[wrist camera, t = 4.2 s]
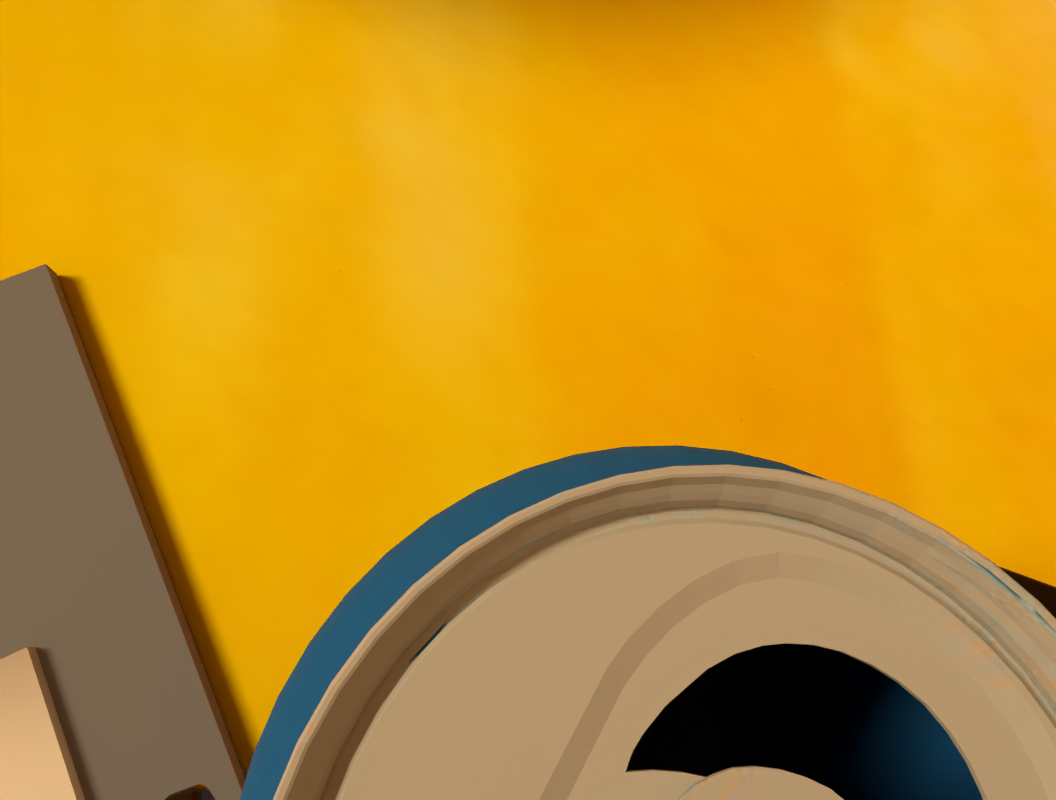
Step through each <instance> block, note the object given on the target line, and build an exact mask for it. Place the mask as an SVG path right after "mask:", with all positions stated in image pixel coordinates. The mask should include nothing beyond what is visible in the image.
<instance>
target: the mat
mask: <svg viewBox="0 0 1056 800" xmlns="http://www.w3.org/2000/svg"><path fill="white" fill-rule="evenodd" d="M245 780H246V778H245V775H244V772H243V769H242V767H241V764H240V761H239V759H238V756H237V753H236V751H235V748H234V745H233V743H232V740H231V737H230V735H229V732H228V729H227V727H226V724H225V721H224V719H223V716H222V713H221V711H220V708H219V705H218V703H217V700H216V697H215V695H214V692H213V689H212V687H211V684H210V681H209V679H208V676H207V673H206V671H205V668H204V665H203V663H202V660H201V657H200V655H199V652H198V649H197V647H196V644H195V641H194V639H193V636H192V633H191V631H190V628H189V625H188V623H187V620H186V617H185V615H184V612H183V609H182V607H181V604H180V601H179V599H178V596H177V593H176V591H175V588H174V585H173V583H172V580H171V577H170V575H169V572H168V569H167V567H166V564H165V561H164V559H163V556H162V553H161V551H160V548H159V545H158V543H157V540H156V537H155V535H154V532H153V529H152V527H151V524H150V521H149V519H148V516H147V513H146V511H145V508H144V505H143V503H142V500H141V497H140V495H139V492H138V489H137V487H136V484H135V481H134V479H133V476H132V473H131V471H130V468H129V465H128V463H127V460H126V457H125V455H124V452H123V449H122V446H121V444H120V441H119V438H118V436H117V433H116V430H115V428H114V425H113V422H112V420H111V417H110V414H109V412H108V409H107V406H106V404H105V401H104V398H103V396H102V393H101V390H100V388H99V385H98V382H97V380H96V377H95V374H94V372H93V369H92V366H91V364H90V361H89V358H88V356H87V353H86V350H85V348H84V345H83V342H82V340H81V337H80V334H79V332H78V329H77V326H76V324H75V321H74V318H73V316H72V313H71V310H70V308H69V305H68V302H67V300H66V297H65V294H64V292H63V289H62V286H61V284H60V281H59V278H58V276H57V274H56V273H55V272H54V271H53V270H52V269H51V268H50V267H48V266H47V265H46V264H44V265H42V266H39V267H36V268H34V269H31V270H28V271H26V272H23V273H20V274H18V275H15V276H12V277H10V278H7V279H4V280H2V281H0V800H165V799H166V798H167V797H168V796H169V795H171V794H173V793H175V792H178V791H180V790H183V789H186V788H189V787H191V786H194V785H197V784H203V785H205V786H207V787H208V788H209V790H210V791H211V793H212V794H213V796H214V798H215V799H216V800H240V796H241V793H242V790H243V786H244V783H245Z"/></svg>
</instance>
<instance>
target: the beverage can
mask: <svg viewBox="0 0 1056 800" xmlns="http://www.w3.org/2000/svg"><path fill="white" fill-rule="evenodd" d="M240 800H1056V618H1055V617H1054V616H1053V615H1052V614H1051V613H1050V612H1049V611H1048V610H1047V609H1046V608H1045V607H1044V606H1043V605H1042V604H1041V603H1040V602H1039V601H1038V600H1037V599H1036V598H1035V597H1033V596H1032V595H1031V594H1030V593H1029V592H1028V591H1026V590H1025V589H1024V588H1023V587H1022V586H1021V585H1019V584H1018V583H1017V582H1016V581H1015V580H1013V579H1012V578H1011V577H1010V576H1009V575H1008V574H1006V573H1005V572H1004V571H1003V570H1002V569H1001V568H999V567H998V566H997V565H996V564H995V563H993V562H992V561H991V560H989V559H988V558H986V557H985V556H983V555H982V554H980V553H979V552H977V551H976V550H974V549H973V548H971V547H970V546H968V545H967V544H965V543H964V542H962V541H961V540H959V539H958V538H956V537H955V536H953V535H952V534H950V533H949V532H947V531H946V530H944V529H943V528H941V527H939V526H937V525H935V524H933V523H931V522H929V521H927V520H925V519H923V518H921V517H919V516H917V515H915V514H913V513H911V512H909V511H907V510H906V509H904V508H902V507H900V506H898V505H896V504H894V503H892V502H889V501H886V500H884V499H881V498H878V497H876V496H873V495H870V494H867V493H865V492H862V491H859V490H857V489H854V488H851V487H848V486H846V485H843V484H840V483H837V482H833V481H829V480H826V479H823V478H821V477H818V476H815V475H813V474H810V473H807V472H804V471H802V470H799V469H796V468H794V467H791V466H788V465H786V464H783V463H779V462H775V461H771V460H767V459H762V458H758V457H754V456H750V455H745V454H741V453H737V452H733V451H725V450H716V449H706V448H697V447H687V446H639V447H621V448H614V449H608V450H601V451H595V452H588V453H582V454H576V455H572V456H568V457H565V458H561V459H558V460H555V461H551V462H548V463H544V464H541V465H537V466H534V467H531V468H527V469H524V470H522V471H520V472H517V473H515V474H513V475H510V476H508V477H506V478H504V479H501V480H499V481H497V482H495V483H492V484H490V485H488V486H485V487H483V488H481V489H479V490H476V491H475V492H473V493H471V494H470V495H468V496H466V497H465V498H463V499H462V500H460V501H458V502H457V503H455V504H453V505H452V506H450V507H448V508H447V509H445V510H443V511H442V512H440V513H438V514H437V515H435V516H433V517H432V518H430V519H429V520H428V521H426V522H425V523H424V524H423V525H421V526H420V527H419V528H418V529H416V530H415V531H414V532H413V533H411V534H410V535H409V536H407V537H406V538H405V539H404V540H402V541H401V542H400V543H399V544H397V545H396V546H395V547H394V548H392V549H391V550H390V551H389V552H387V553H386V554H385V555H384V556H383V557H382V558H381V559H380V560H379V561H378V562H377V563H376V564H375V565H374V566H373V568H372V569H371V570H370V571H369V572H368V573H367V574H366V575H365V576H364V577H363V578H362V579H361V580H360V581H359V582H358V583H357V584H356V585H355V586H354V587H353V588H352V589H351V590H350V591H349V592H348V593H347V594H346V595H345V597H344V598H343V599H342V601H341V602H340V603H339V605H338V606H337V607H336V609H335V610H334V611H333V612H332V614H331V615H330V616H329V618H328V619H327V620H326V622H325V623H324V624H323V626H322V627H321V628H320V630H319V631H318V632H317V634H316V635H315V636H314V637H313V639H312V640H311V641H310V643H309V645H308V646H307V648H306V650H305V651H304V653H303V655H302V657H301V658H300V660H299V662H298V663H297V665H296V667H295V669H294V670H293V672H292V674H291V675H290V677H289V679H288V681H287V682H286V684H285V686H284V687H283V689H282V691H281V693H280V694H279V696H278V698H277V701H276V703H275V705H274V708H273V710H272V712H271V714H270V717H269V719H268V721H267V724H266V726H265V728H264V731H263V733H262V735H261V737H260V740H259V742H258V744H257V747H256V749H255V751H254V754H253V756H252V760H251V763H250V766H249V770H248V773H247V776H246V780H245V783H244V786H243V790H242V793H241V796H240Z"/></svg>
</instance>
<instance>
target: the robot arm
mask: <svg viewBox="0 0 1056 800" xmlns="http://www.w3.org/2000/svg"><path fill="white" fill-rule="evenodd" d="M998 567H999V566H998ZM999 568H1001V569H1002V570H1003V571H1004V572H1005V573H1006V574H1008V575H1009V576H1010V577H1011V578H1012V579H1013V580H1015V581H1016V582H1017V583H1018V584H1019V585H1021V586H1022V587H1023V588H1024V589H1025V590H1026V591H1028V592H1029V593H1030V594H1031V595H1032V596H1033V597H1035V598H1036V599H1037V600H1038V601H1039V602H1040V603H1041V604H1042V605H1043V606H1044V607H1045V608H1046V609H1047V610H1048V611H1049V612H1050V613H1051V614H1052V615H1053V616H1054V617H1055V618H1056V587H1054V586H1051V585H1048V584H1046V583H1043V582H1040V581H1037V580H1035V579H1032V578H1029V577H1026V576H1024V575H1021V574H1018V573H1015V572H1013V571H1010V570H1007V569H1004V568H1002V567H999ZM165 800H216V799H215V798H214V796H213V794H212V793H211V791H210V790H209V788H208V787H207V786H205V785H203V784H197V785H194V786H191V787H189V788H186V789H183V790H180V791H178V792H175V793H173V794H171V795H169V796H168V797H167V798H166V799H165Z"/></svg>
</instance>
